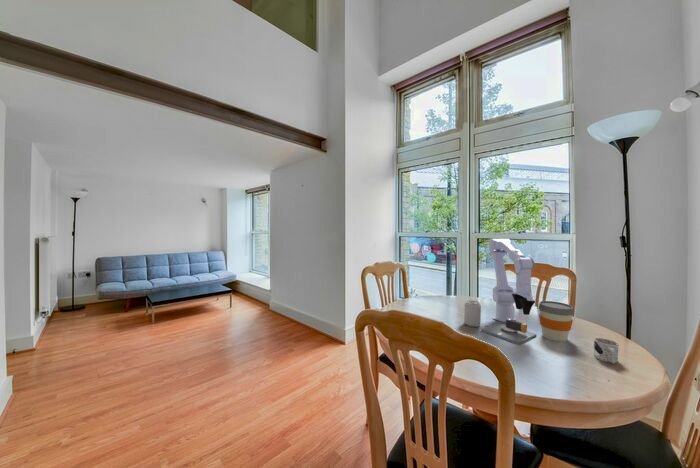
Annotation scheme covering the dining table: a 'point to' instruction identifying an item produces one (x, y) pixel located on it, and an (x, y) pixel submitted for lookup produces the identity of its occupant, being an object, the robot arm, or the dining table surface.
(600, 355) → the mug
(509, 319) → the black orange block
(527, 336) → the panel
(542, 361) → the dining table surface
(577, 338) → the dining table surface
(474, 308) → the white bottle
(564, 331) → the reusable coffee cup
